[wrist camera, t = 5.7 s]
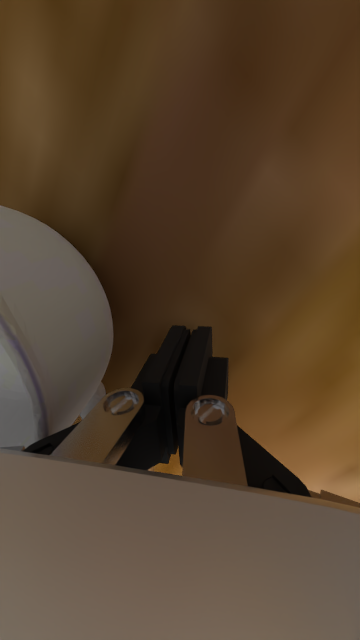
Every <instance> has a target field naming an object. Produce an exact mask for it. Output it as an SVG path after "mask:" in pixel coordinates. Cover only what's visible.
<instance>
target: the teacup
mask: <svg viewBox="0 0 360 640" xmlns="http://www.w3.org/2000/svg"><path fill="white" fill-rule="evenodd" d="M112 347H113V321H112V316H111V310H110V307H109V303H108V300H107V297H106V294H105V292H104V289H103V287H102V285H101V283H100V281H99V279H98V277H97V276H96V274H95V272H94V271H93V269H92V268H91V267H90V265H89V264H88V262H87V261H86V260H85V258H84V257H83V256H82V255H81V254H80V253H79V252H78V251H77V250H76V248H75V247H74V246H73V245H72V244H71V243H70V242H69V241H67V240H66V239H65V238H64V237H62V236H61V235H60V234H59V233H57V232H56V231H55V230H53V229H52V228H50V227H49V226H48V225H46V224H44V223H42V222H40V221H39V220H37V219H35V218H33V217H31V216H28V215H26V214H24V213H21V212H19V211H16V210H13V209H10V208H7V207H4V206H0V447H12V446H24V447H25V449H26V448H27V447H28V446H29V445H31V444H33V443H35V442H37V441H39V440H41V439H43V438H45V437H48V436H50V435H52V434H54V433H57V432H59V431H61V430H63V429H66V428H68V427H70V426H71V425H72V424H73V423H74V421H75V420H76V419H77V417H78V416H79V415H80V416H81V418H82V420H83V419H84V418H85V416H86V415H87V414H88V413H89V412H90V411H91V410H92V409H93V408H94V407H95V406H96V404H97V403H98V402H99V401H100V400H101V399H102V398H103V397H104V396H105V395H106V391H105V388H104V385H103V383H102V382H101V380H102V378H103V376H104V374H105V371H106V369H107V366H108V364H109V360H110V357H111V353H112Z"/></svg>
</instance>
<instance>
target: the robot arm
mask: <svg viewBox="0 0 360 640" xmlns="http://www.w3.org/2000/svg"><path fill="white" fill-rule="evenodd" d="M227 394H228V358H221V357H212V327H204V326H198V329H197V330H193V331H192V334H191V332H190V329H186V327H185V326H173V325H172V327H171V329H170V330H169V332H168V334H167V336H166V338H165V340H164V342H163V343H162V345H161V347H160V349H159V351H158V353H157V354H151V355H150V356H149V358H148V359H147V361H146V363H145V364H144V366H143V368H142V370H141V371H140V373H139V375H138V377H137V378H136V380H135V382H134V383H133V385H132V387H131V388H121V389H117V390H114V391H112V392H110V393H108V394H107V395H105V396H104V397H103V398H102V399H101V400H100V401H99V402H98V403H97V404H96V406H95V407H94V408H93V409H92V410H91V411H90V412H89V413H88V414H87V415H86V416H85V418H84V419H83V420H82V421H81V422H79V423H77V424H74V425H72V426H70V427H68V428H66V429H63V430H61V431H59V432H57V433H54V434H52V435H50V436H48V437H45V438H43V439H41V440H39V441H37V442H35V443H33V444H31V445H29V446H28V447H27V448H26V449H25V447H24V446H12V447H0V640H360V503H358V502H355V501H352V500H349V499H347V498H344V497H341V496H338V495H335V494H332V493H329V492H327V491H324V490H321V492H320V494H319V493H316V492H313V491H310V490H308V489H307V487H306V486H305V485H304V484H303V483H302V482H301V480H300V479H299V478H298V477H296V476H295V475H294V474H293V473H292V472H291V471H289V470H288V469H287V468H286V467H285V466H284V465H283V464H281V463H280V462H279V461H278V460H277V459H276V458H274V457H273V456H272V455H271V454H270V453H269V452H267V451H266V450H265V449H264V448H263V447H262V446H261V445H259V444H258V443H257V442H256V441H255V440H254V439H252V438H251V437H250V436H249V435H248V434H247V433H245V432H244V431H243V430H242V429H241V428H240V427H238V426H237V423H236V418H235V412H234V409H233V406H232V405H231V404H230V403H229V402H228V401H227ZM178 446H179V457H180V465H181V466H182V467H183V471H182V476H179V475H173V474H167V473H160V472H154V466H155V465H157V464H158V463H166V464H168V463H169V460H170V456H171V454H176V452H177V448H178Z"/></svg>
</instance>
